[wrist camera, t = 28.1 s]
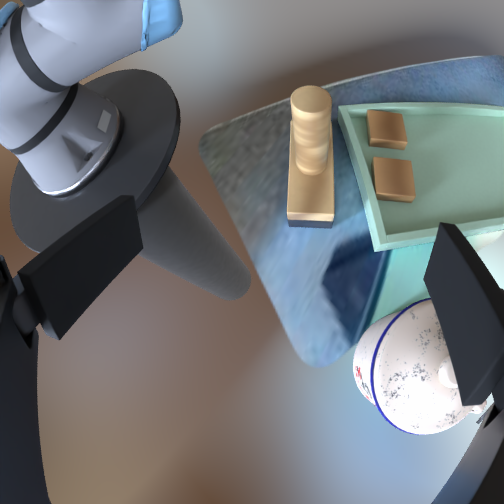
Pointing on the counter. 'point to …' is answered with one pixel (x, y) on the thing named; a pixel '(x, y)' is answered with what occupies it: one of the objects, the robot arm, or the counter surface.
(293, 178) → the brush
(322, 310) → the counter surface
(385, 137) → the cork piece
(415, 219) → the tray
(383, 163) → the cork piece
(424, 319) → the teacup with lid
